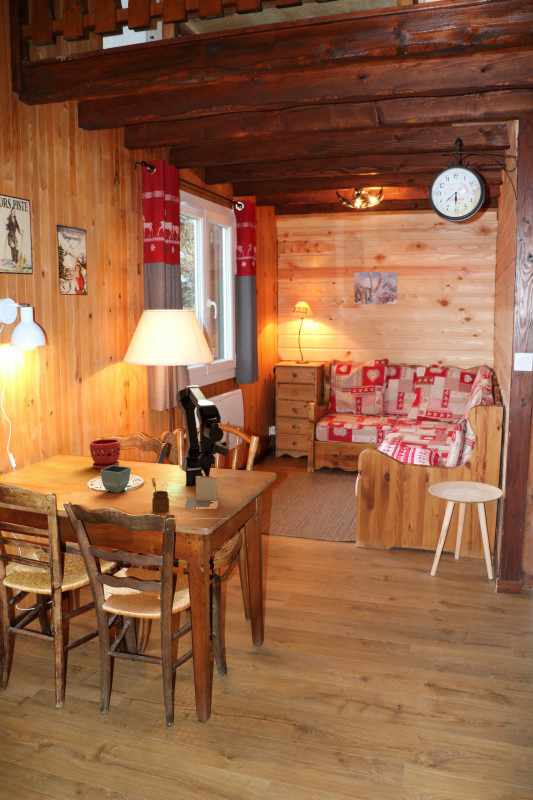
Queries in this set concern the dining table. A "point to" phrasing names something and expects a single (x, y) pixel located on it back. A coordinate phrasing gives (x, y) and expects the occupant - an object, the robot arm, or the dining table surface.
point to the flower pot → (115, 478)
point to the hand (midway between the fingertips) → (207, 476)
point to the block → (206, 488)
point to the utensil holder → (160, 500)
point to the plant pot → (105, 453)
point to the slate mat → (196, 503)
